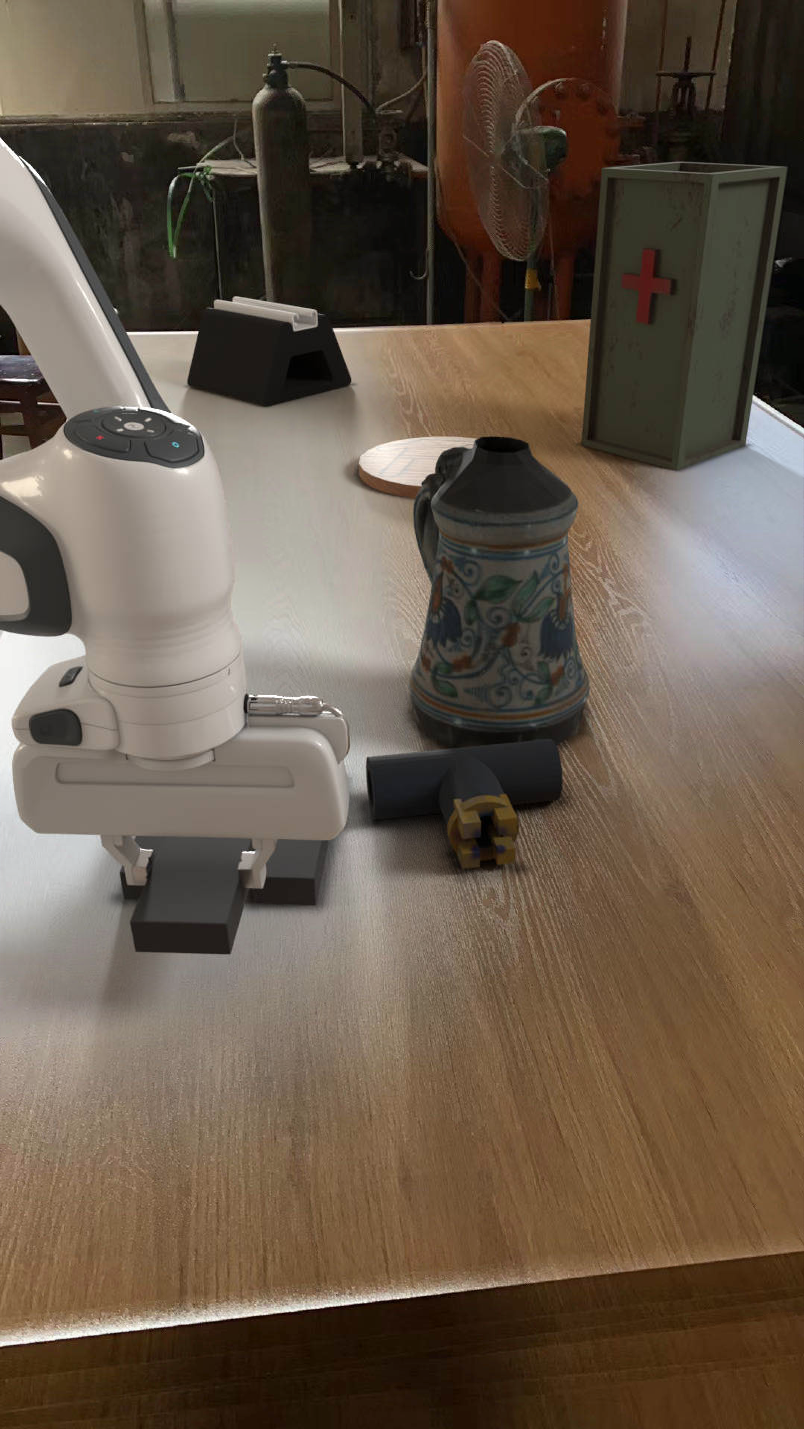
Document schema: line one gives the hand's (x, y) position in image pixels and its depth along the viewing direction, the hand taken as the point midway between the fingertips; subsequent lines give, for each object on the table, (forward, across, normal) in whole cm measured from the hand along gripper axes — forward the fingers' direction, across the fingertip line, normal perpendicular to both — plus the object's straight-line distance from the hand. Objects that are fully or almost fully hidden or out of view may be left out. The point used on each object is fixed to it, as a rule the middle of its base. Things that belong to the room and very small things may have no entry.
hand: (197, 881), depth 71 cm
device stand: (+6, +22, -158) cm, 160 cm away
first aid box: (+7, -48, -120) cm, 129 cm away
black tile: (+2, 0, -1) cm, 2 cm away
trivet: (+6, -13, -105) cm, 106 cm away
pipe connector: (+6, -18, -15) cm, 24 cm away
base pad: (+6, 0, -13) cm, 15 cm away
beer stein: (+6, -19, -34) cm, 40 cm away
